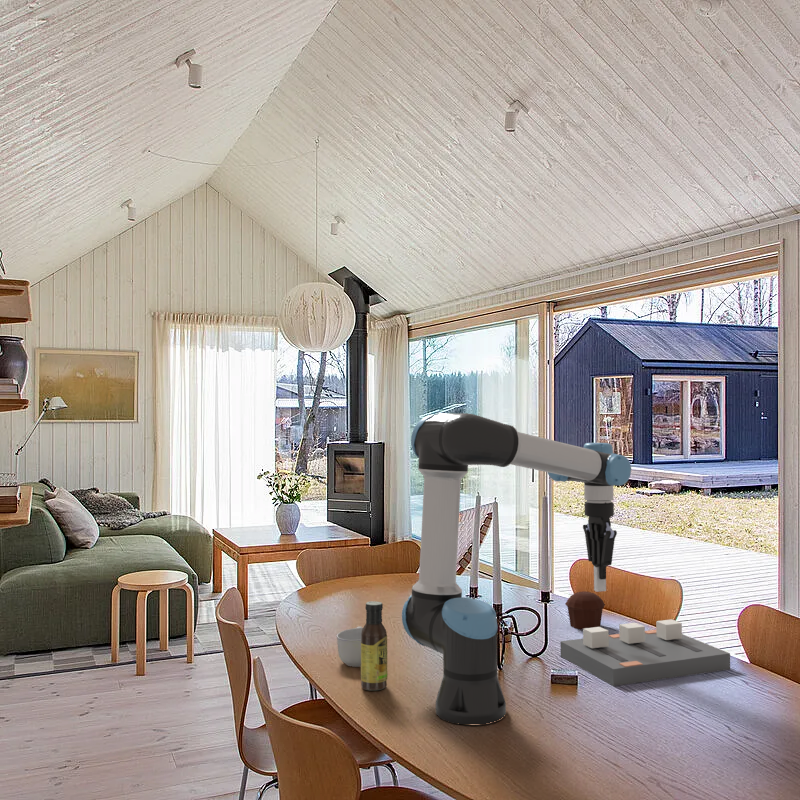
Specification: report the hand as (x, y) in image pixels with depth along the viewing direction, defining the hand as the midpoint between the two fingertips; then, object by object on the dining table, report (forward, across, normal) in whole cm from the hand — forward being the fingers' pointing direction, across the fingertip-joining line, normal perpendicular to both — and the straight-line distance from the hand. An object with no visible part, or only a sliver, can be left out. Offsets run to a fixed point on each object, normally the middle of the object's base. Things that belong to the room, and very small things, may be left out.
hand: (600, 590), depth 208 cm
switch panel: (+17, -8, -8) cm, 20 cm away
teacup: (+18, +17, +61) cm, 66 cm away
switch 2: (+13, -4, -18) cm, 23 cm away
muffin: (+18, +27, -12) cm, 34 cm away
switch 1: (+13, -4, +4) cm, 14 cm away
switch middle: (+13, -3, -7) cm, 15 cm away
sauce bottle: (+18, -3, +63) cm, 65 cm away
